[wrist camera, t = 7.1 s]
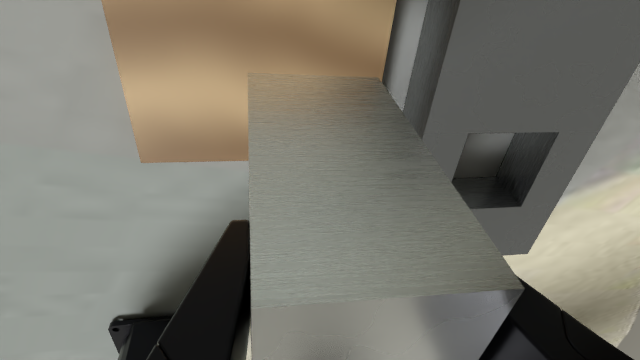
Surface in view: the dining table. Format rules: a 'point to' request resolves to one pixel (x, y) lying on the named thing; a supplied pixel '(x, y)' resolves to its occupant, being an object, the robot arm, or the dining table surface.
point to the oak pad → (230, 63)
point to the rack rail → (520, 97)
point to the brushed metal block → (360, 232)
